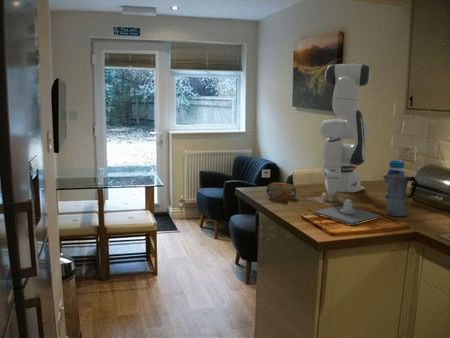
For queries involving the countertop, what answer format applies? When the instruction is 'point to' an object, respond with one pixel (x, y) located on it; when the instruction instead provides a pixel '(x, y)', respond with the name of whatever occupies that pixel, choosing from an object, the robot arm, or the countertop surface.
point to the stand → (319, 199)
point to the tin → (281, 191)
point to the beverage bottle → (394, 171)
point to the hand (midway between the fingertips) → (329, 199)
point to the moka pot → (398, 193)
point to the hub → (347, 213)
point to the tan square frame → (326, 196)
